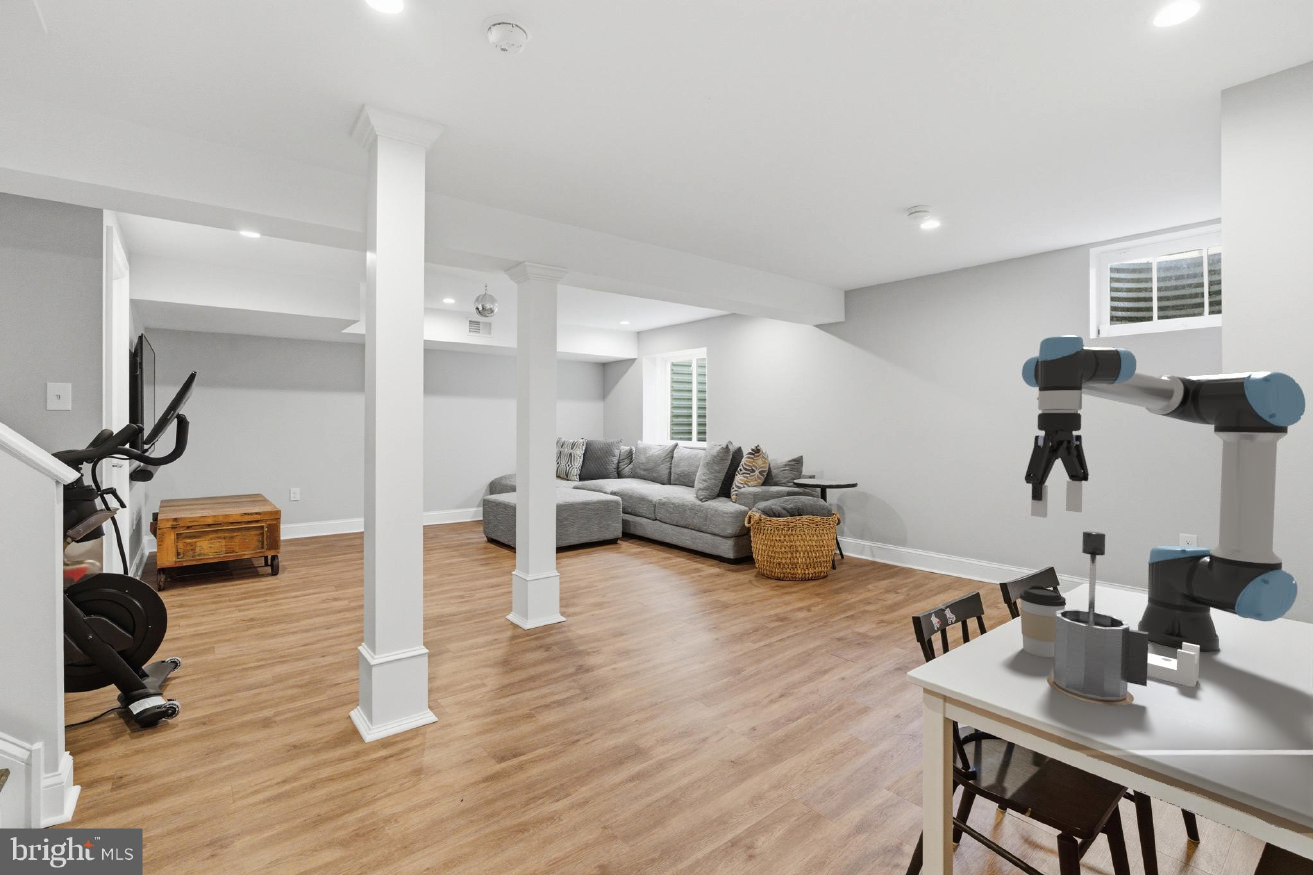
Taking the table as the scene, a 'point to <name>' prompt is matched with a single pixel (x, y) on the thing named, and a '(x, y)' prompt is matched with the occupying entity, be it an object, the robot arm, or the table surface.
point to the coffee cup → (1039, 619)
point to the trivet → (1125, 702)
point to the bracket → (1176, 666)
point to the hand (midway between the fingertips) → (1056, 514)
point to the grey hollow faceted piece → (1098, 656)
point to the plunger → (1092, 567)
